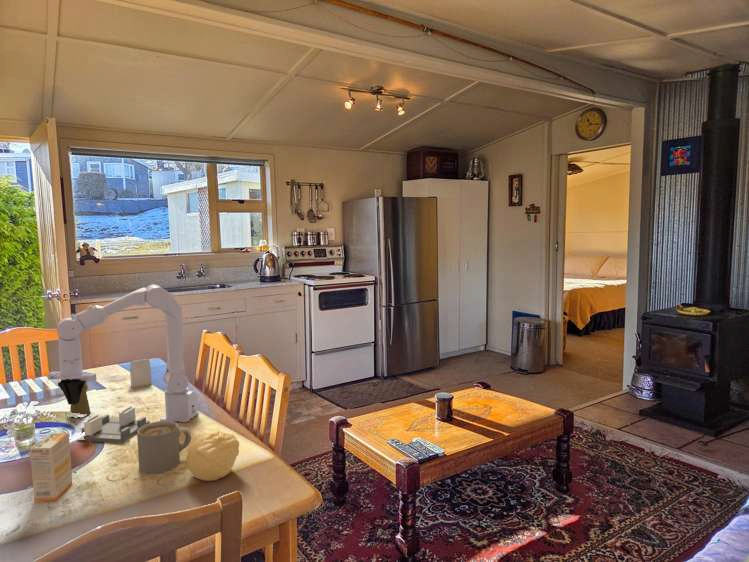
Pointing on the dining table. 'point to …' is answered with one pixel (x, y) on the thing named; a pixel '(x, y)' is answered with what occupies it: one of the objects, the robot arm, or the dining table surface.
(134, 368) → the beige rectangular box
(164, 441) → the coffee mug
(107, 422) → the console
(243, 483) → the dining table surface
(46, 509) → the dining table surface
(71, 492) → the dining table surface
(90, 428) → the near fader cap
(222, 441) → the sculpture
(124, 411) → the far fader cap
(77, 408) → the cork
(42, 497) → the supplement box
